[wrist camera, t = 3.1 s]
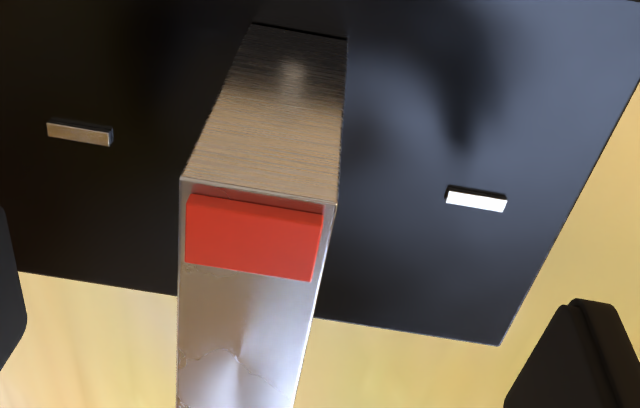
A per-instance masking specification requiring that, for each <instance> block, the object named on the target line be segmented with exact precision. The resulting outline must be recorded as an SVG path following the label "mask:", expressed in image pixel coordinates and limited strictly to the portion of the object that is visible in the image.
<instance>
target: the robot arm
mask: <svg viewBox="0 0 640 408" xmlns="http://www.w3.org/2000/svg"><path fill="white" fill-rule="evenodd" d="M26 325H27V313H26V308H25V304H24V299H23V294H22V289H21V285H20V280H19V275H18V271H17V266H16V261H15V257H14V252H13V247H12V243H11V238H10V233H9V229H8V224H7V219H6V215H5V211H4V209H3V208H2V207H0V371H1V369H2V368H3V366H4V364H5V363H6V361H7V360H8V358H9V357H10V355H11V353H12V352H13V350H14V349H15V347H16V346H17V344H18V342H19V341H20V339H21V338H22V336H23V334H24V331H25V329H26ZM503 408H640V362H639V360H638V358H637V356H636V353H635V351H634V349H633V347H632V344H631V342H630V340H629V338H628V335H627V333H626V331H625V329H624V326H623V324H622V322H621V319H620V317H619V315H618V313H617V311H616V309H615V308H614V306H612V305H611V304H607V303H601V302H596V301H590V300H584V299H577V298H575V299H573V300H572V301H571V302H570V303H569V304H568V305H561V306H560V307H559V308H558V309H557V311H556V312H555V314H554V316H553V318H552V319H551V321H550V323H549V324H548V326H547V328H546V329H545V331H544V333H543V335H542V336H541V338H540V340H539V341H538V343H537V345H536V347H535V348H534V350H533V352H532V353H531V355H530V357H529V358H528V360H527V362H526V364H525V365H524V367H523V369H522V370H521V372H520V374H519V375H518V377H517V379H516V381H515V382H514V384H513V386H512V387H511V389H510V391H509V392H508V394H507V396H506V398H505V401H504V406H503Z"/></svg>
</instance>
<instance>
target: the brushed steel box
mask: <svg viewBox="0 0 640 408" xmlns="http://www.w3.org/2000/svg"><path fill="white" fill-rule="evenodd" d="M347 59H348V41H345V40H339V39H334V38H328V37H322V36H317V35H311V34H305V33H300V32H294V31H289V30H283V29H277V28H272V27H266V26H261V25H255V24H250V26H249V28H248V30H247V32H246V34H245V37H244V39H243V41H242V43H241V45H240V47H239V50H238V52H237V54H236V56H235V58H234V60H233V63H232V65H231V67H230V69H229V71H228V73H227V76H226V78H225V80H224V82H223V84H222V86H221V89H220V91H219V93H218V95H217V97H216V100H215V102H214V104H213V106H212V108H211V110H210V113H209V115H208V117H207V119H206V121H205V123H204V126H203V128H202V130H201V132H200V134H199V136H198V139H197V141H196V143H195V145H194V147H193V149H192V152H191V154H190V156H189V158H188V160H187V162H186V165H185V167H184V169H183V171H182V173H181V176H180V178H179V230H178V296H177V362H176V408H293V405H294V401H295V396H296V392H297V387H298V383H299V378H300V374H301V369H302V365H303V360H304V356H305V351H306V347H307V342H308V338H309V333H310V329H311V324H312V320H313V315H314V311H315V306H316V302H317V297H318V293H319V288H320V284H321V279H322V275H323V270H324V266H325V261H326V257H327V252H328V248H329V243H330V239H331V234H332V230H333V225H334V221H335V216H336V212H337V207H338V198H339V183H340V167H341V152H342V136H343V121H344V106H345V90H346V75H347Z"/></svg>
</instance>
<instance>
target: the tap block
mask: <svg viewBox="0 0 640 408" xmlns="http://www.w3.org/2000/svg"><path fill="white" fill-rule="evenodd" d="M250 24H255V25H261V26H266V27H272V28H277V29H283V30H289V31H294V32H300V33H305V34H311V35H317V36H322V37H328V38H334V39H339V40H345V41H348V59H347V75H346V90H345V106H344V121H343V136H342V152H341V167H340V183H339V198H338V207H337V212H336V216H335V221H334V225H333V230H332V234H331V239H330V243H329V248H328V252H327V257H326V261H325V266H324V270H323V275H322V279H321V284H320V288H319V293H318V297H317V302H316V306H315V311H314V315H313V318H319V319H325V320H331V321H338V322H344V323H350V324H357V325H363V326H370V327H376V328H382V329H389V330H395V331H401V332H408V333H414V334H421V335H427V336H433V337H440V338H446V339H452V340H459V341H465V342H471V343H478V344H484V345H491V346H500V345H501V343H502V341H503V339H504V337H505V335H506V333H507V331H508V329H509V328H510V326H511V324H512V322H513V320H514V318H515V316H516V314H517V312H518V311H519V309H520V307H521V305H522V303H523V301H524V299H525V297H526V295H527V294H528V292H529V290H530V288H531V286H532V284H533V282H534V280H535V278H536V277H537V275H538V273H539V271H540V269H541V267H542V265H543V263H544V262H545V260H546V258H547V256H548V254H549V252H550V250H551V248H552V246H553V245H554V243H555V241H556V239H557V237H558V235H559V233H560V231H561V229H562V228H563V226H564V224H565V222H566V220H567V218H568V216H569V214H570V212H571V211H572V209H573V207H574V205H575V203H576V201H577V199H578V197H579V195H580V194H581V192H582V190H583V188H584V186H585V184H586V182H587V180H588V178H589V177H590V175H591V173H592V171H593V169H594V167H595V165H596V163H597V161H598V160H599V158H600V156H601V154H602V152H603V150H604V148H605V146H606V145H607V143H608V141H609V139H610V137H611V135H612V133H613V131H614V129H615V128H616V126H617V124H618V122H619V120H620V118H621V116H622V114H623V112H624V111H625V109H626V107H627V105H628V103H629V101H630V99H631V97H632V95H633V94H634V92H635V90H636V88H637V86H638V84H639V82H640V0H0V207H2V208H3V209H4V211H5V215H6V219H7V224H8V229H9V233H10V238H11V243H12V247H13V252H14V257H15V261H16V266H17V271H19V272H26V273H32V274H38V275H45V276H51V277H57V278H64V279H70V280H77V281H83V282H89V283H96V284H102V285H108V286H115V287H121V288H128V289H134V290H140V291H147V292H153V293H159V294H166V295H172V296H178V230H179V178H180V176H181V173H182V171H183V169H184V167H185V165H186V162H187V160H188V158H189V156H190V154H191V152H192V149H193V147H194V145H195V143H196V141H197V139H198V136H199V134H200V132H201V130H202V128H203V126H204V123H205V121H206V119H207V117H208V115H209V113H210V110H211V108H212V106H213V104H214V102H215V100H216V97H217V95H218V93H219V91H220V89H221V86H222V84H223V82H224V80H225V78H226V76H227V73H228V71H229V69H230V67H231V65H232V63H233V60H234V58H235V56H236V54H237V52H238V50H239V47H240V45H241V43H242V41H243V39H244V37H245V34H246V32H247V30H248V28H249V26H250Z"/></svg>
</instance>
